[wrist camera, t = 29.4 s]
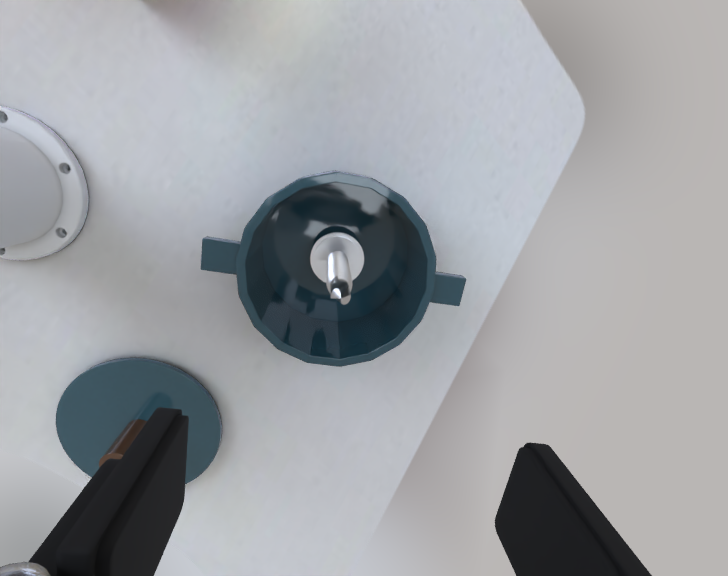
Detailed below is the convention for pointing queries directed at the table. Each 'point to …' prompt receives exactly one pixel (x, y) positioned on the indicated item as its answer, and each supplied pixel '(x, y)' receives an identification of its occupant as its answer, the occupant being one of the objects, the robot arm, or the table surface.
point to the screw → (337, 263)
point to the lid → (133, 412)
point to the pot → (310, 294)
